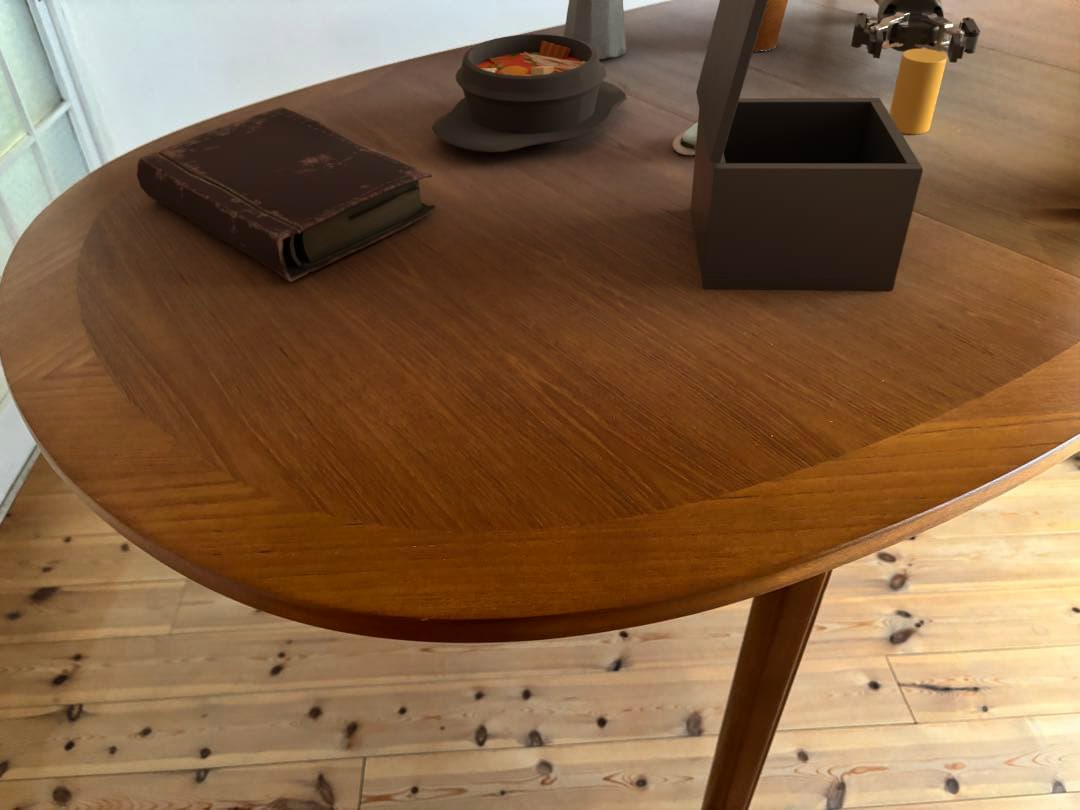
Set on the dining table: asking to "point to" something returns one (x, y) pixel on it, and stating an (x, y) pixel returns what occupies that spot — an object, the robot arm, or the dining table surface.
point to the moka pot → (597, 25)
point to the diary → (285, 190)
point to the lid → (727, 68)
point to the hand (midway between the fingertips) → (916, 51)
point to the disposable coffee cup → (770, 25)
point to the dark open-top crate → (804, 197)
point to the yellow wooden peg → (917, 89)
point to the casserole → (528, 94)
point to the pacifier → (687, 137)
